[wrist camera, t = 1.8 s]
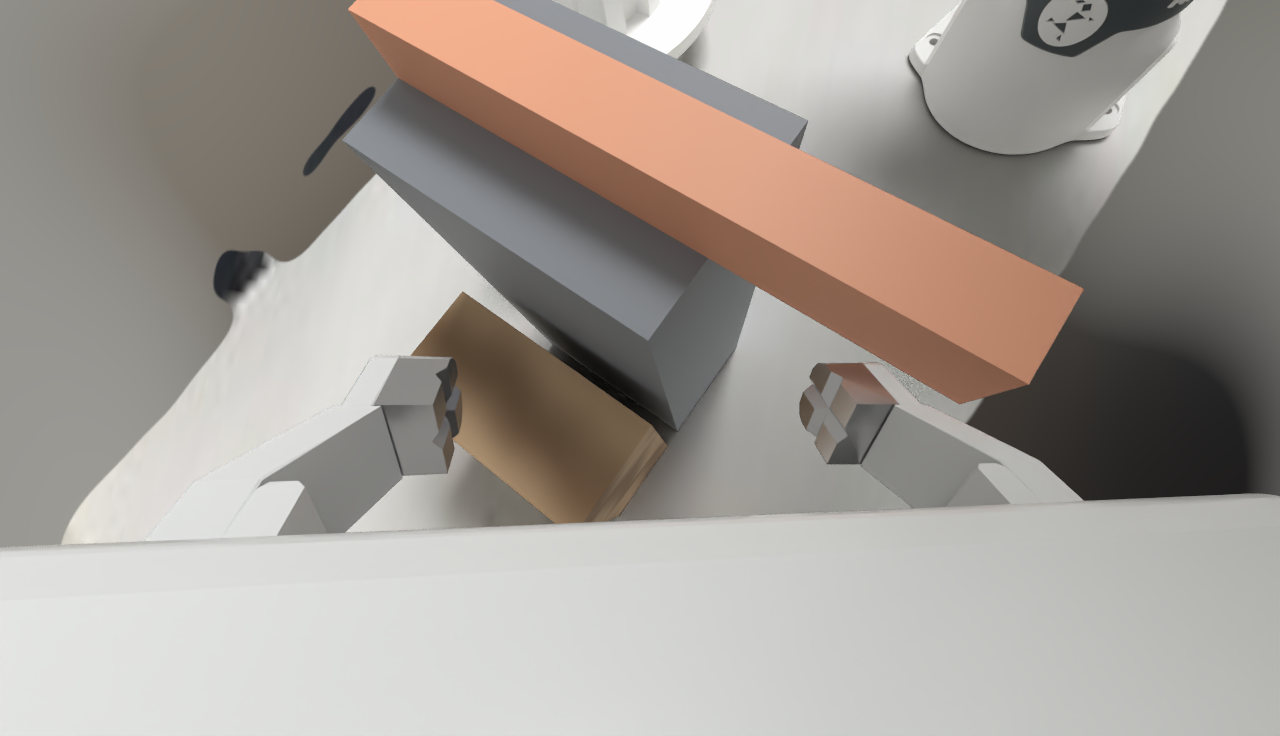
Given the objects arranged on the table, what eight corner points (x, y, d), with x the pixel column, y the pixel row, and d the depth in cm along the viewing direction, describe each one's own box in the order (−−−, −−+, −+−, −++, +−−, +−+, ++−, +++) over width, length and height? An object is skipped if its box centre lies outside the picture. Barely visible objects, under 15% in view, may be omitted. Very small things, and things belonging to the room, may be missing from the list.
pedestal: (610, 268, 43) (493, -28, 18) (735, 347, 40) (808, 120, 15) (552, 344, 42) (341, 140, 17) (677, 431, 39) (648, 340, 14)
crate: (542, 357, 42) (462, 291, 27) (667, 445, 38) (651, 425, 24) (495, 419, 41) (386, 385, 26) (619, 515, 37) (572, 537, 23)
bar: (441, 29, 18) (399, -46, 15) (1005, 327, 12) (1084, 288, 10) (398, 78, 17) (347, 9, 15) (959, 404, 12) (1028, 384, 10)
